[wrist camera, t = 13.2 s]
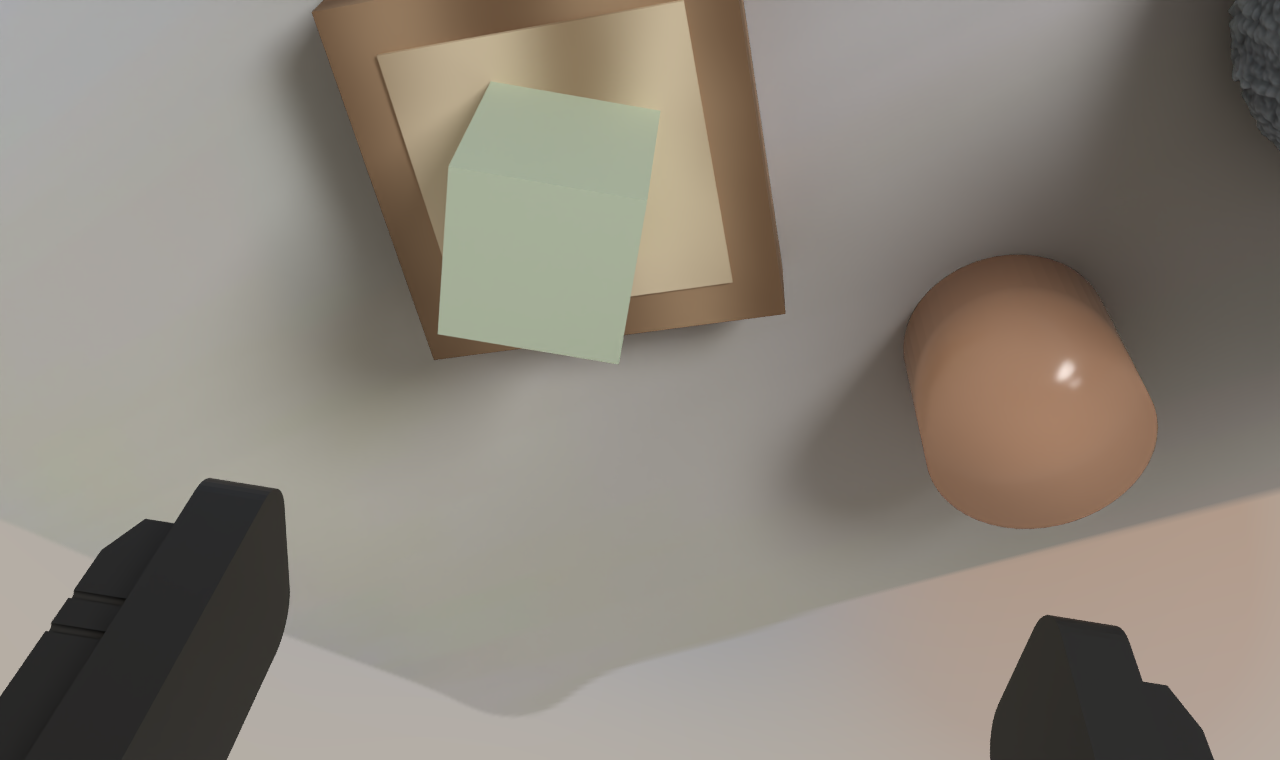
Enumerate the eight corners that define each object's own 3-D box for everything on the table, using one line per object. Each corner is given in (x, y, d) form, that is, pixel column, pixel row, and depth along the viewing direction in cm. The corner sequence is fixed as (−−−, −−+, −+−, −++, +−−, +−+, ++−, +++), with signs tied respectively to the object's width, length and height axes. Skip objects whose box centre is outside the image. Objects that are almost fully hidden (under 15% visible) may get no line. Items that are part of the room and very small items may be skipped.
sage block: (660, 110, 34) (647, 200, 29) (634, 259, 37) (618, 364, 32) (490, 81, 34) (448, 166, 29) (478, 232, 37) (437, 334, 32)
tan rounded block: (1138, 273, 39) (1196, 371, 34) (1063, 434, 43) (1105, 544, 38) (936, 238, 39) (965, 332, 34) (880, 403, 43) (898, 509, 38)
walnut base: (729, -92, 34) (729, -65, 31) (782, 268, 40) (785, 316, 37) (341, -18, 36) (310, 13, 33) (451, 314, 42) (433, 362, 39)
